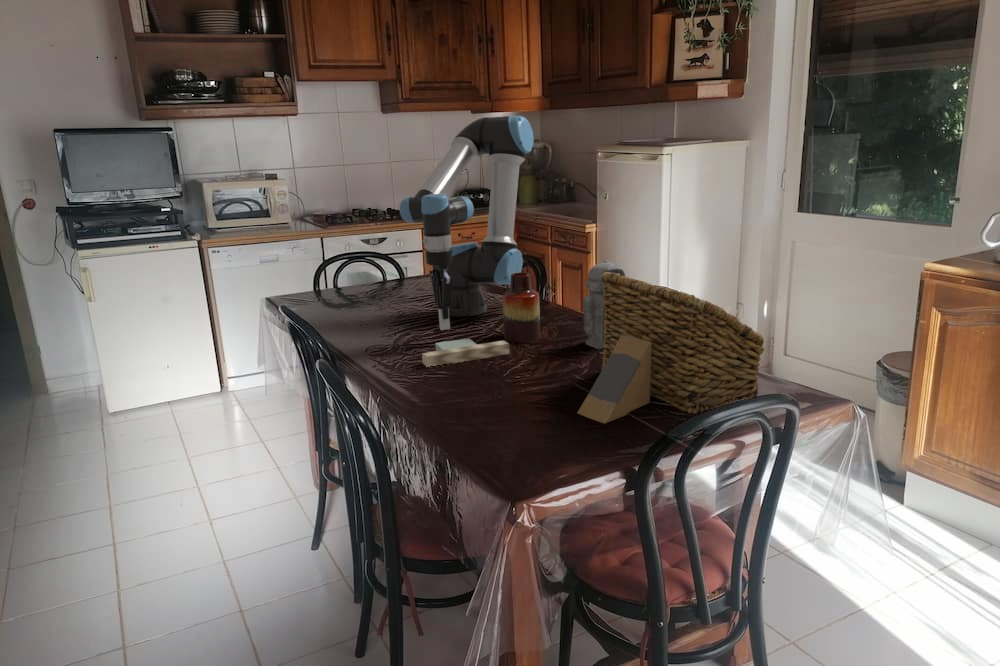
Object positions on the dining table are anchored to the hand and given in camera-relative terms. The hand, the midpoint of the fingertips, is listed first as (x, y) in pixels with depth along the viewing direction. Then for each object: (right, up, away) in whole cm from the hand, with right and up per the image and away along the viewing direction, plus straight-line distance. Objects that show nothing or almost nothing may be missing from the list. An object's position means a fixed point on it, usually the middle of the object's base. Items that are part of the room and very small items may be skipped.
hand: (445, 328), depth 210 cm
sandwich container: (+41, -18, -53) cm, 70 cm away
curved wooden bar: (+7, -9, -16) cm, 20 cm away
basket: (+60, -14, -40) cm, 73 cm away
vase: (+23, -4, +3) cm, 23 cm away
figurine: (+46, -5, -6) cm, 47 cm away
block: (+4, -8, -10) cm, 14 cm away
